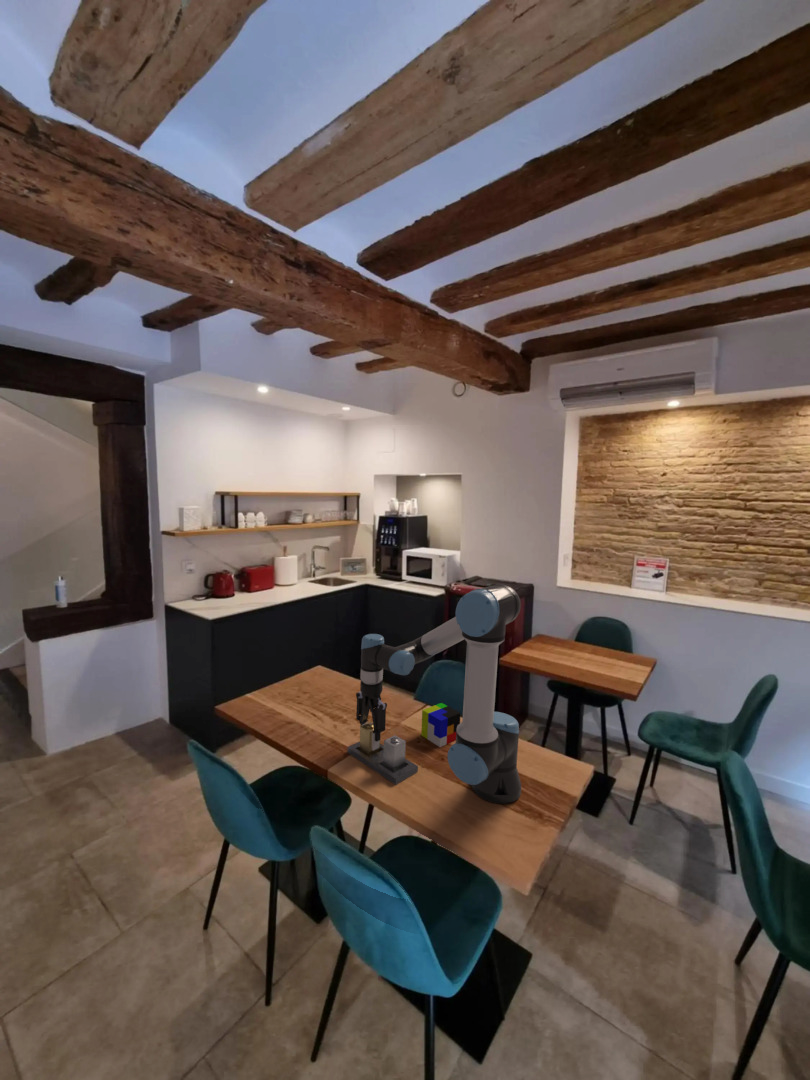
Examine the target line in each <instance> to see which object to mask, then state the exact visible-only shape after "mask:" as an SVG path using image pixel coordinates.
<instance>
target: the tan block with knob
mask: <svg viewBox="0 0 810 1080" xmlns="http://www.w3.org/2000/svg"><path fill="white" fill-rule="evenodd" d="M366 723H367V724H364V725H362V726H361V725H360V726H359V741H360V752H362V753H363V754H365V755H366V756H368V757H370V756H372V755H374V754H376V753H378V752H380V743H381V739H380V740H379V748H378V749H376V750H374V751H373V750H372V731H374V727H373V721H368V722H366ZM380 737H382V736H381V734H380Z"/></svg>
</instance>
